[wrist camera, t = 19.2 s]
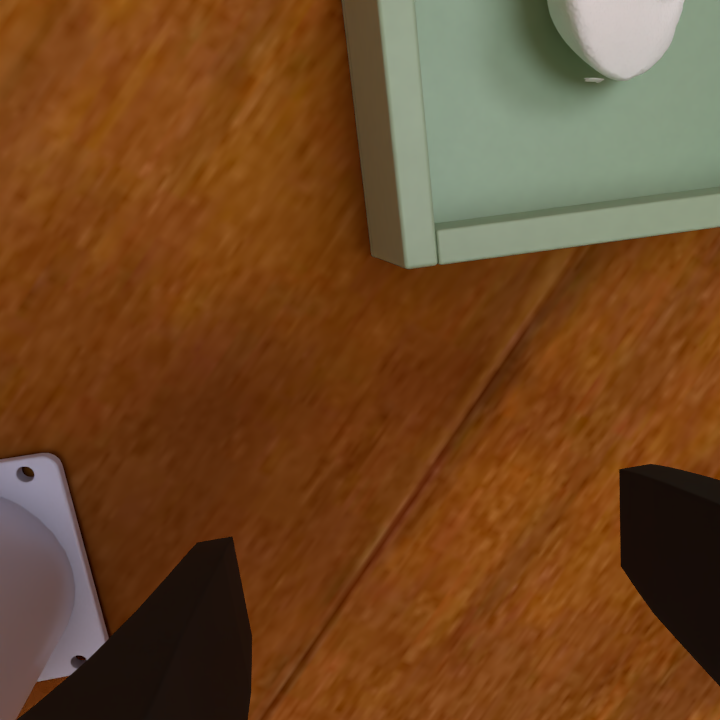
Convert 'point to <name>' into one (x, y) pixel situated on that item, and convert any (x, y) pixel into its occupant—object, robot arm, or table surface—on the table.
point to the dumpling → (617, 33)
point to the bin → (525, 132)
